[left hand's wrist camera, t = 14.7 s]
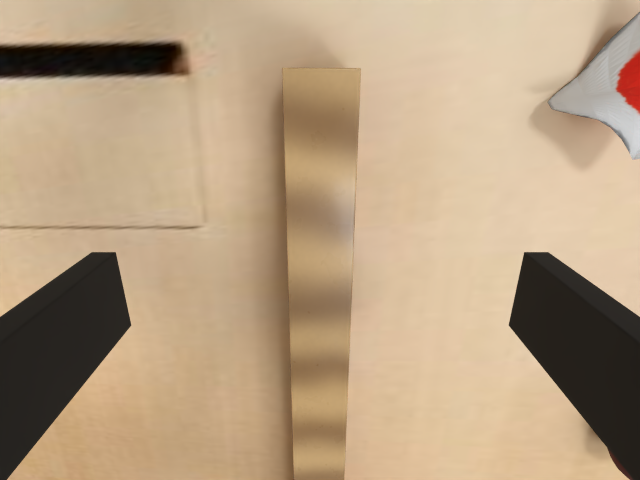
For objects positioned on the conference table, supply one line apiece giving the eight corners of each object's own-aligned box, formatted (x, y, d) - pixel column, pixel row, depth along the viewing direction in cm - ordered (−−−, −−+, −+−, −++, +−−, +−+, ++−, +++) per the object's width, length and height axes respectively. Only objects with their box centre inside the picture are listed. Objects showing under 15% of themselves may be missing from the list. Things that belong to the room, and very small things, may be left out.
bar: (290, 73, 31) (282, 67, 24) (351, 73, 31) (360, 68, 24) (300, 546, 54) (297, 619, 46) (336, 546, 54) (338, 619, 46)
